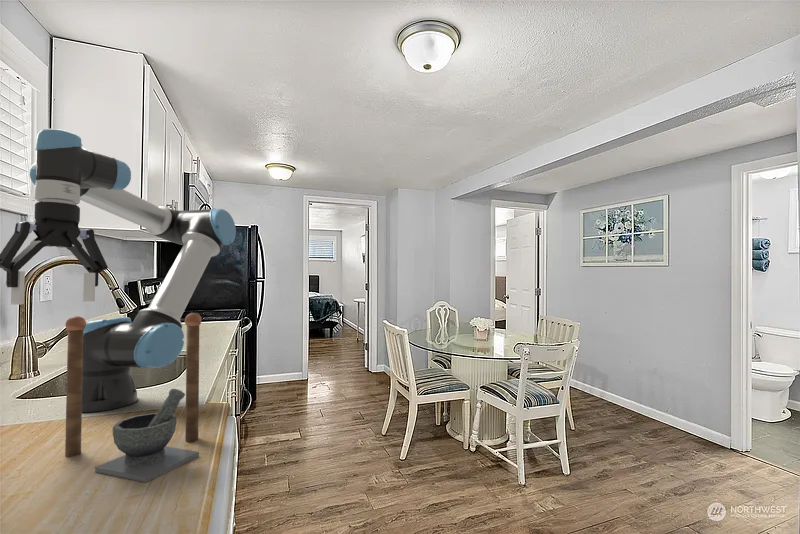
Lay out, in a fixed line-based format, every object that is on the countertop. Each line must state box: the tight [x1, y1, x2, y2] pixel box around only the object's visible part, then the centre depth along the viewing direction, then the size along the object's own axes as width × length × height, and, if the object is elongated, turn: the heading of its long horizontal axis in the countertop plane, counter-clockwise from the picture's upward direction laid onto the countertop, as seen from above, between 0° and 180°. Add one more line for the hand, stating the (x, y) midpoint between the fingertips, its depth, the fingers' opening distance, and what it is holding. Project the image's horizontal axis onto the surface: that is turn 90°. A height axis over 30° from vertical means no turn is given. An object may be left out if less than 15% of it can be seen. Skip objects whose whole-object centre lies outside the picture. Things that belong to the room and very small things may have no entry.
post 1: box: [64, 315, 87, 457], centre depth 81 cm, size 3×3×26 cm
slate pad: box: [94, 445, 200, 483], centre depth 76 cm, size 11×12×1 cm
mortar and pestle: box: [112, 388, 186, 467], centre depth 76 cm, size 11×9×12 cm
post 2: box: [184, 312, 202, 443], centre depth 88 cm, size 3×3×26 cm
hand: (55, 303), depth 89 cm, fingers open, 13 cm apart
